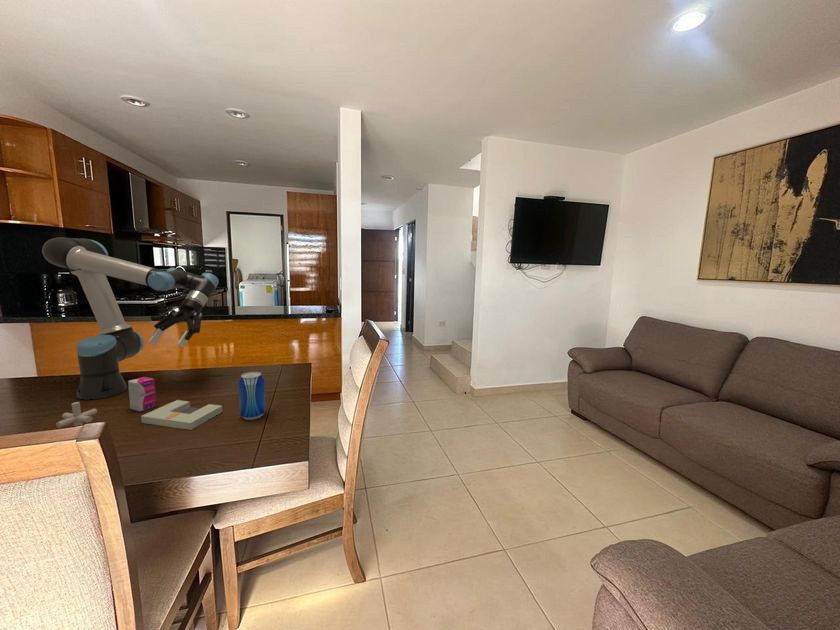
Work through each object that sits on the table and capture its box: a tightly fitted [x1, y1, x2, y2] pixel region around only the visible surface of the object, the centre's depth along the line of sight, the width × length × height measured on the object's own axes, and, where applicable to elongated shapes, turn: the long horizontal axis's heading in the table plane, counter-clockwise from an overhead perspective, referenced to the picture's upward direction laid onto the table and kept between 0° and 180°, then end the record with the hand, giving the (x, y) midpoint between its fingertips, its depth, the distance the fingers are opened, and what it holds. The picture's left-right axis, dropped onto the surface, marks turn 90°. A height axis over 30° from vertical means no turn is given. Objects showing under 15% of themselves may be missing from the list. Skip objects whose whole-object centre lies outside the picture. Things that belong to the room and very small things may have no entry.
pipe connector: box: [55, 401, 98, 429], centre depth 108 cm, size 10×10×10 cm
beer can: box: [238, 371, 266, 421], centre depth 123 cm, size 8×8×16 cm
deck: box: [140, 399, 223, 431], centre depth 121 cm, size 14×20×3 cm
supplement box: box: [127, 376, 157, 413], centre depth 126 cm, size 6×6×12 cm
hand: (165, 345), depth 134 cm, fingers open, 13 cm apart
